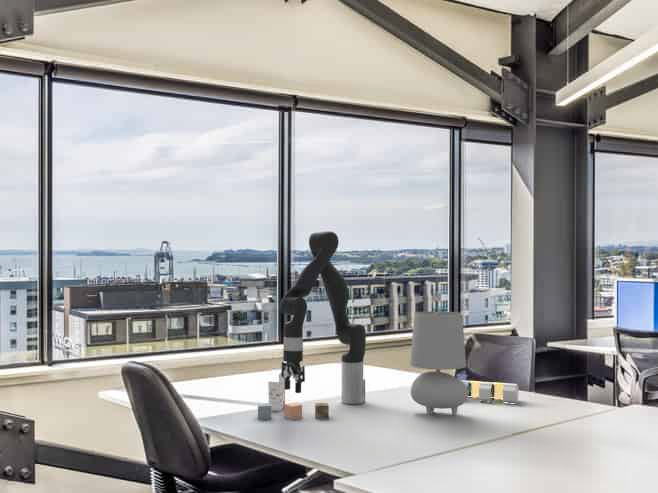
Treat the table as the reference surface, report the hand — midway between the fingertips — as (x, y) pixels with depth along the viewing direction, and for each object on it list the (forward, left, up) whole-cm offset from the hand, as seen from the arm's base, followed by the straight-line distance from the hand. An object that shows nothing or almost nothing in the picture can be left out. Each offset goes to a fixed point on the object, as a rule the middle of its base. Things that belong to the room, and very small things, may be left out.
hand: (292, 391), depth 278 cm
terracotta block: (0, 0, -10) cm, 10 cm away
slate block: (+9, -5, -10) cm, 15 cm away
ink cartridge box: (-2, -17, -10) cm, 20 cm away
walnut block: (-10, +5, -10) cm, 15 cm away
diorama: (-86, +16, -11) cm, 88 cm away
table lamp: (-51, +26, -10) cm, 58 cm away
